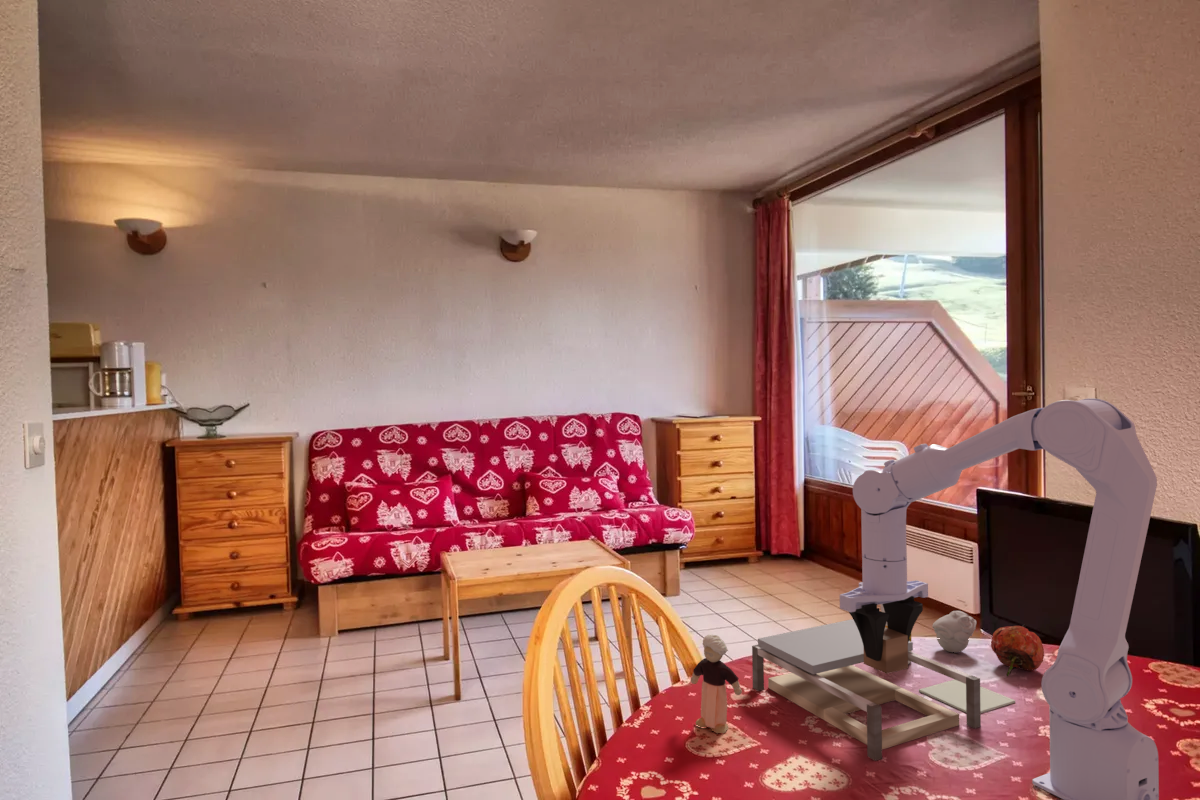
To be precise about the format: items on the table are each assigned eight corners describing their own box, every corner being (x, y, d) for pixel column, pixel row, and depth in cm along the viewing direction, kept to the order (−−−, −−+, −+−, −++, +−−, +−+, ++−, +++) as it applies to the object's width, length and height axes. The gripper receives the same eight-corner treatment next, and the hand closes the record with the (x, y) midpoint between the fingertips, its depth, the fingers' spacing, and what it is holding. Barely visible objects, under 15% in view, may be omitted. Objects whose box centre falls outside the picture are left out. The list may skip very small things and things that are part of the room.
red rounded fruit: (1039, 696, 109) (1062, 645, 114) (1018, 663, 108) (1042, 613, 112) (993, 684, 116) (1016, 637, 120) (972, 653, 114) (996, 606, 118)
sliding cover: (912, 650, 105) (912, 642, 105) (813, 674, 97) (812, 665, 97) (852, 626, 116) (852, 619, 116) (758, 646, 108) (757, 638, 108)
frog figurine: (982, 659, 119) (982, 617, 118) (938, 657, 120) (937, 616, 120) (970, 646, 125) (969, 606, 124) (927, 644, 126) (927, 605, 126)
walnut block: (908, 668, 97) (907, 635, 97) (886, 673, 95) (886, 640, 95) (884, 658, 100) (884, 626, 100) (863, 663, 99) (863, 631, 98)
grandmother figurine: (683, 728, 97) (682, 635, 96) (693, 716, 100) (692, 626, 100) (739, 740, 93) (737, 644, 93) (747, 727, 96) (745, 634, 96)
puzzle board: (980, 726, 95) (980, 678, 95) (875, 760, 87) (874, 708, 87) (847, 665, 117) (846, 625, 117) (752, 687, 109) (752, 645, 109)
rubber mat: (1015, 702, 102) (1015, 700, 102) (972, 715, 98) (972, 713, 98) (960, 679, 110) (960, 678, 110) (918, 691, 107) (918, 689, 107)
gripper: (898, 545, 104) (900, 637, 104) (822, 557, 98) (824, 655, 98) (940, 555, 98) (941, 653, 98) (861, 568, 92) (863, 673, 92)
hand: (885, 655), depth 98 cm, fingers closed on walnut block, 4 cm apart
